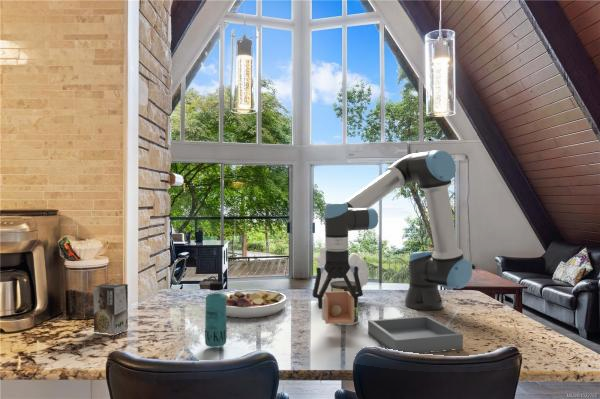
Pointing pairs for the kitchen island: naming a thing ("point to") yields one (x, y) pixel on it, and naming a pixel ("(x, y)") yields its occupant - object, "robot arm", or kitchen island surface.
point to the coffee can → (342, 286)
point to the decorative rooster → (353, 261)
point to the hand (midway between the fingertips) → (337, 317)
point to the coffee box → (110, 308)
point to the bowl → (253, 303)
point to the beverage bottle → (215, 316)
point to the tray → (414, 334)
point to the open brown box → (344, 302)
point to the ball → (336, 310)
